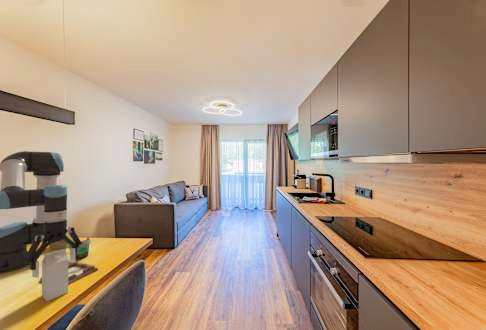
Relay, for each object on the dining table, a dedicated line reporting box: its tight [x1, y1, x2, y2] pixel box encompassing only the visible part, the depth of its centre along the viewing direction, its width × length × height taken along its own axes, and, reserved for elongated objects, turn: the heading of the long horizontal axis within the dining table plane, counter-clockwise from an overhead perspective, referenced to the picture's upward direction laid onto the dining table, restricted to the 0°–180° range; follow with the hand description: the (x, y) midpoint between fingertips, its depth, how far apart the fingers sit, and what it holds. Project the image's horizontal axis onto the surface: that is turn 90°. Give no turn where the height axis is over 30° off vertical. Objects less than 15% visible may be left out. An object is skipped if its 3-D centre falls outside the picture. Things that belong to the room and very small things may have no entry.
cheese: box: [48, 232, 75, 251], centre depth 142 cm, size 10×11×10 cm
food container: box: [67, 237, 92, 261], centre depth 125 cm, size 12×6×10 cm, turn 168°
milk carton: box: [41, 248, 69, 302], centre depth 89 cm, size 7×7×19 cm
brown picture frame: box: [40, 261, 99, 286], centre depth 105 cm, size 17×16×2 cm
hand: (55, 269), depth 89 cm, fingers open, 13 cm apart
